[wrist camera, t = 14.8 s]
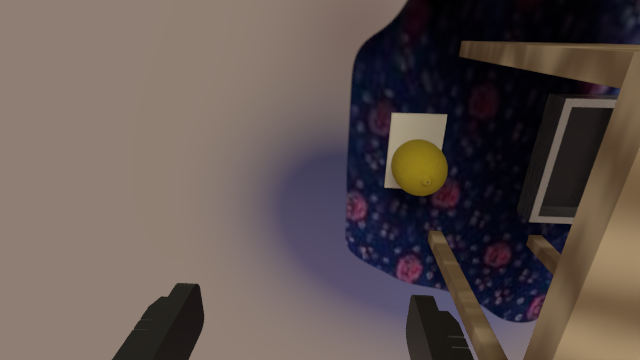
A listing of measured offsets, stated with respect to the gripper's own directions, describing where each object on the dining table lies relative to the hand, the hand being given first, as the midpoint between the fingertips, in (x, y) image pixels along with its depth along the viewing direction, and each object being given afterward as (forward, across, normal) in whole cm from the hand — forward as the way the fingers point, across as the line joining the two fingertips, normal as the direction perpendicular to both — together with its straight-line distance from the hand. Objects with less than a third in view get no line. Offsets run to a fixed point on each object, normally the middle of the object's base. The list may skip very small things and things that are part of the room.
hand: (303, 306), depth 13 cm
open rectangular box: (+28, -28, +3) cm, 40 cm away
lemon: (+28, -10, +3) cm, 30 cm away
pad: (+28, -10, +3) cm, 30 cm away
